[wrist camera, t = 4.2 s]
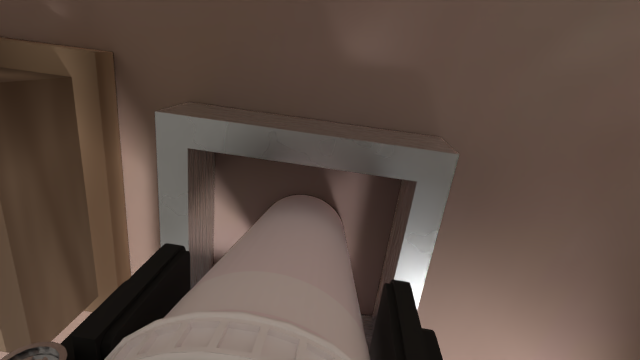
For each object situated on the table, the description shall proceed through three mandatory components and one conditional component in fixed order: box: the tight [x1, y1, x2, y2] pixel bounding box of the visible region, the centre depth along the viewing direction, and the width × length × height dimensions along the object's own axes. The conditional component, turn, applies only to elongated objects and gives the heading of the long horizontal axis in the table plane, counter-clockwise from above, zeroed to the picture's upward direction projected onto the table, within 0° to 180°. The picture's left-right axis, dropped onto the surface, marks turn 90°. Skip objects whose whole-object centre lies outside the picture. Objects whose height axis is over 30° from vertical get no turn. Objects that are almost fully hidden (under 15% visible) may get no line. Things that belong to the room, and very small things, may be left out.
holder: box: [155, 102, 459, 350], centre depth 14 cm, size 10×10×2 cm
